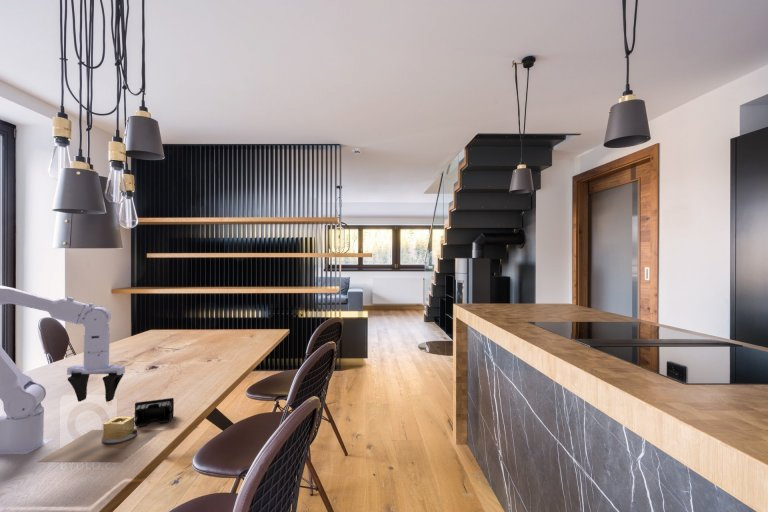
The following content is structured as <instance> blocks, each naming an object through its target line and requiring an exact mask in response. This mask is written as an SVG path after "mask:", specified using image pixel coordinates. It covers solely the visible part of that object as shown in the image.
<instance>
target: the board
mask: <svg viewBox="0 0 768 512" xmlns="http://www.w3.org/2000/svg"><path fill="white" fill-rule="evenodd" d="M136 430H137V436H136V437H135V438H133V439H131V440H129V441H126V442H123V443H119V444H103V443H102V442H101V441H102V437H103V429H92V430H91V429H90V430H89V431H88V432H86V433H84V434H82V435H80V436H79V437H77V438H75V439H74V440H73V441H71V442H69V443H67V444H65V445H63V446H62V447H60V448H58V449H56V450H55V451H53V452H51V453H50V454H48V455H46V456H44V457H43V458H41V459H38V461H36V463H123V461H125V460H126V459H127V458H129V457H130V456H131V455H133V454H134V453H136V452H137V451H138V450H139V449H140V448H142V447H143V446H145V444H147V443H148V442H150V441H151V440H152V439H154V438H155V437H156V436H158V434H160V433H162V432H163V431H164V430H163V429H136Z"/></svg>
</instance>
